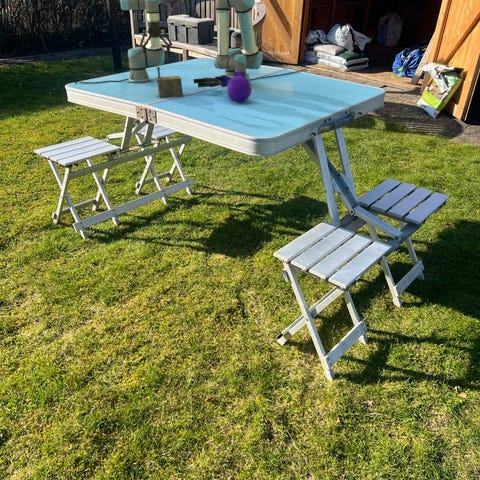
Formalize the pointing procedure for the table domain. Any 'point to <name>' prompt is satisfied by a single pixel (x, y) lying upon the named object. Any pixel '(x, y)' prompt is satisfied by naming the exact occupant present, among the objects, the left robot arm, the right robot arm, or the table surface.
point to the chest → (169, 88)
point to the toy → (237, 86)
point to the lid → (171, 78)
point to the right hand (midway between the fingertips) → (195, 83)
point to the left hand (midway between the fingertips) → (157, 58)
